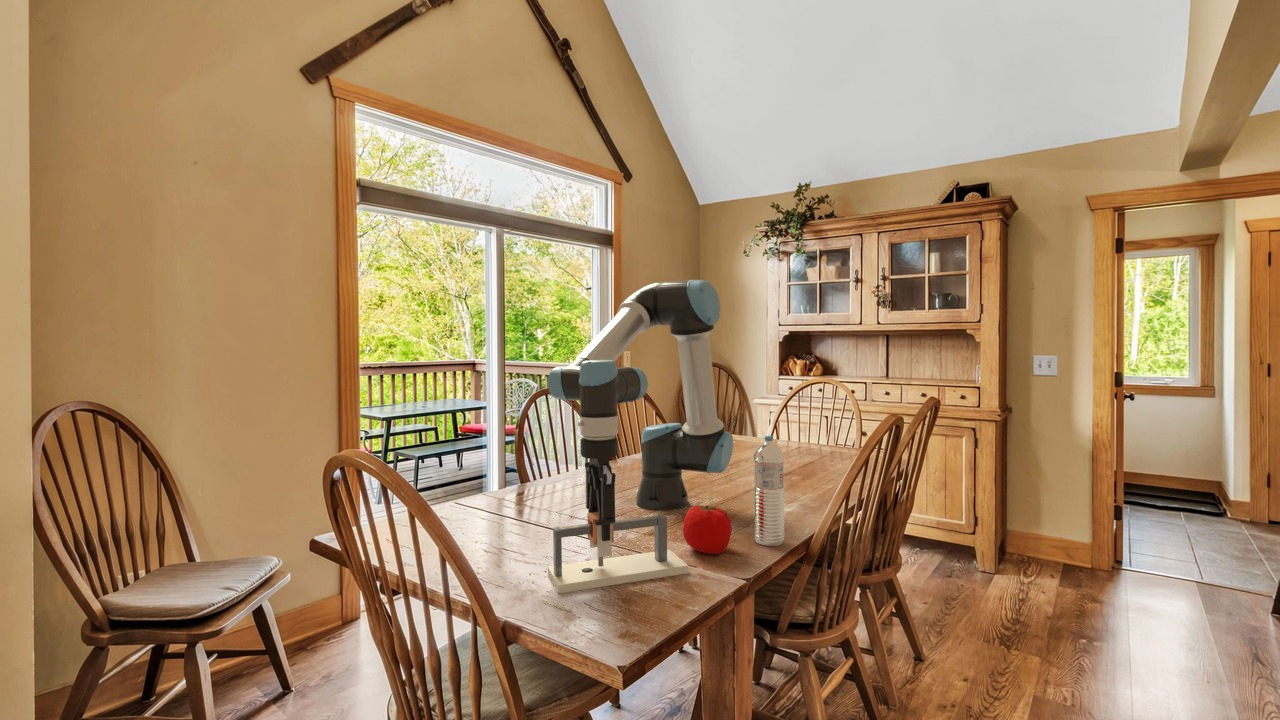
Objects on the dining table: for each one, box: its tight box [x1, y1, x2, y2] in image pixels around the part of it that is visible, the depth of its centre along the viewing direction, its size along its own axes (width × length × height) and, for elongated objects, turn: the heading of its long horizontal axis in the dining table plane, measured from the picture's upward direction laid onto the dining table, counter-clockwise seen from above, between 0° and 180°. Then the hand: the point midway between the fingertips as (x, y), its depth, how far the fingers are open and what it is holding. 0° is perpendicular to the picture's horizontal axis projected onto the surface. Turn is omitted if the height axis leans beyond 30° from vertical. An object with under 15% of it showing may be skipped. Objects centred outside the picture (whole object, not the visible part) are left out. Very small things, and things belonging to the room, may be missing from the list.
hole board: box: [547, 549, 689, 594], centre depth 123 cm, size 27×10×2 cm, turn 110°
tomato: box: [682, 505, 733, 555], centre depth 136 cm, size 11×13×10 cm
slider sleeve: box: [586, 512, 615, 567], centre depth 122 cm, size 4×5×10 cm
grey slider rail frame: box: [552, 514, 668, 577], centre depth 122 cm, size 24×2×9 cm, turn 110°
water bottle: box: [753, 435, 785, 547], centre depth 141 cm, size 7×7×25 cm
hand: (600, 550), depth 122 cm, fingers closed on slider sleeve, 5 cm apart
